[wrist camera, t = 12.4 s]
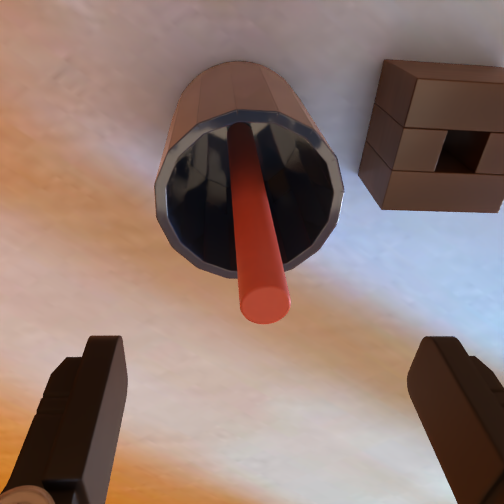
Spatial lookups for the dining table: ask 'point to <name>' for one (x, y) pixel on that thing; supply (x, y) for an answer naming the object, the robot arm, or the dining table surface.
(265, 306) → the red rod
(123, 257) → the dining table surface
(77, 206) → the dining table surface
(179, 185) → the tumbler
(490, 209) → the holder
